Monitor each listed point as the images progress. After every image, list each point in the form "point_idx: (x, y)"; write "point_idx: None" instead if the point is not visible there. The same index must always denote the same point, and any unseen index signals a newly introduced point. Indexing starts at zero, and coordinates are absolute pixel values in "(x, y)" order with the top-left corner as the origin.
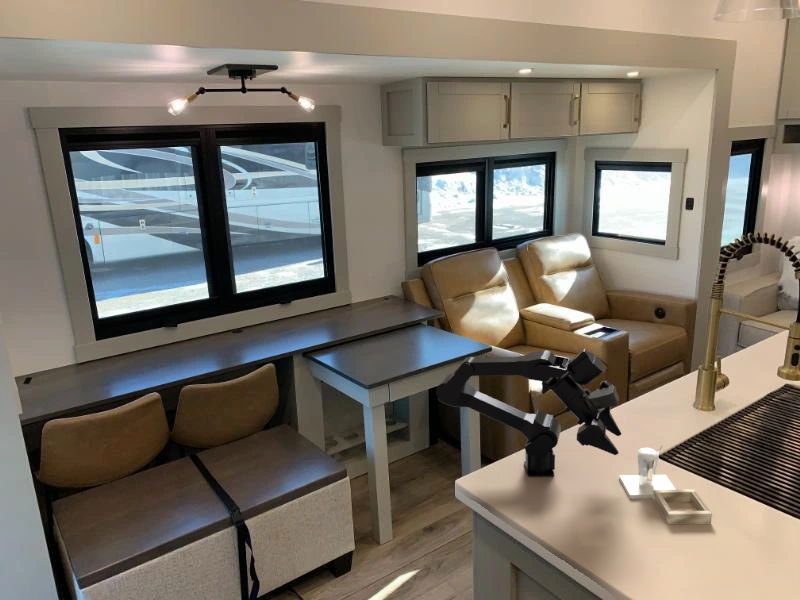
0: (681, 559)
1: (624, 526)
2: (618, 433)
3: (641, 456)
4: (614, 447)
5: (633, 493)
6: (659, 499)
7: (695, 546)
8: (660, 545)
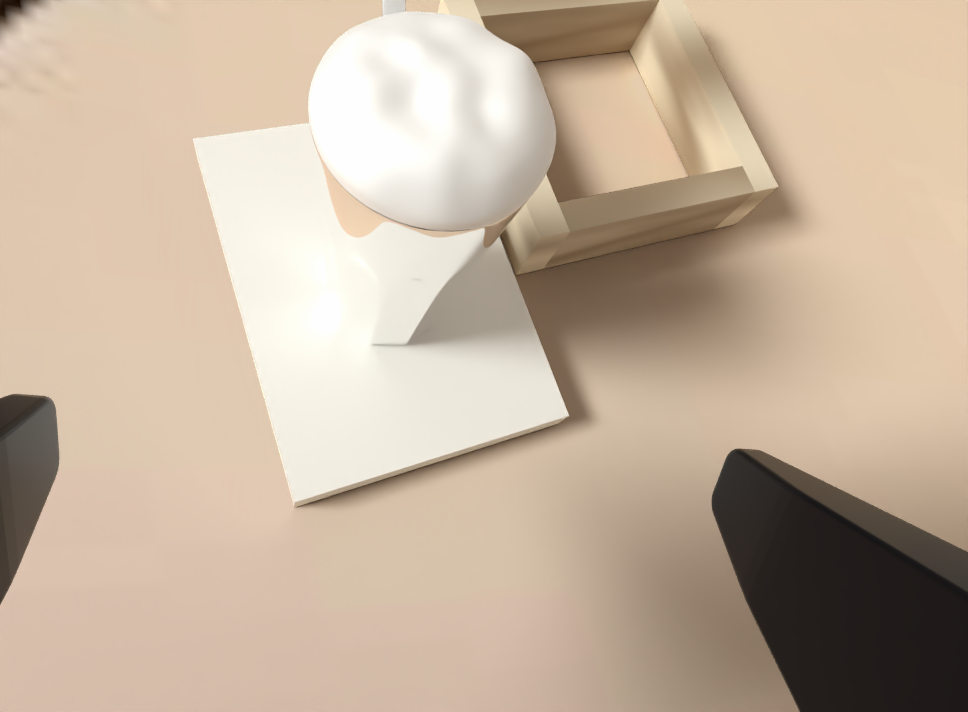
0: (959, 209)
1: (860, 464)
2: (37, 451)
3: (527, 192)
4: (861, 501)
5: (540, 392)
6: (639, 217)
7: (845, 134)
8: (916, 285)
